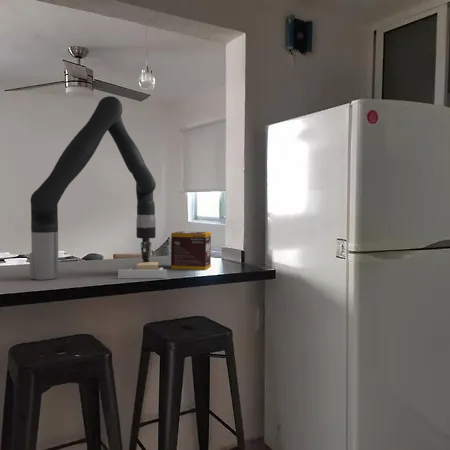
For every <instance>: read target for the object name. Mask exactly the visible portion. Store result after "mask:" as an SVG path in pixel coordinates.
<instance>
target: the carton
mask: <svg viewBox="0 0 450 450" xmlns="http://www.w3.org/2000/svg"><path fill="white" fill-rule="evenodd" d="M136 270H159V262H157V261H149V262H143V261H142V262H141V261H139V262H138V261H137V263H136Z"/></svg>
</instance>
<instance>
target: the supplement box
mask: <svg viewBox="0 0 450 450" xmlns="http://www.w3.org/2000/svg"><path fill="white" fill-rule="evenodd" d="M170 237H171V238H170V239H171V240H170V242H171V243H170V245H171V246H170V258H171V259H170V269H171V270H186V269H189V270H190V271H191V270H192V271H206V270H208V269H209V268H211V267H212V264H211V261H212V260H211V257H212V251H211V250H212V249H211V247H212V240H211V239H212V232H211V231H179V230H178V231H174V232H171V235H170ZM189 270H188V271H189Z"/></svg>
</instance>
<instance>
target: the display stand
mask: <svg viewBox="0 0 450 450" xmlns="http://www.w3.org/2000/svg"><path fill="white" fill-rule="evenodd" d="M117 271H118V272H117V274H118V275H117V276H118V279H167V278H168V269H164V267H159V268H158V270H137V269H133V267H129V268H128V269H117Z"/></svg>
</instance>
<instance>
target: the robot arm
mask: <svg viewBox="0 0 450 450" xmlns="http://www.w3.org/2000/svg"><path fill="white" fill-rule="evenodd" d="M122 114H123V104H122V102H121V100H119V98H117V97H115V96H111V95H110V96H104V97H103V98H101V99H100V100H99V102H98V103H97V106H96V108H95V110H94V111H93V113H92V115H91V116H90V117H89V119H88V121H87V122H86V124H85V125H84V126H83V127H81V129H80V130H79V131H78V133H76V135H75V136H74V137H73V138H72V139H71V141H70V142H69V144H68V145H67V146H66V147H65V149H64V150H63V151H62V153H61V154H60V156H59V157H58V160H57V162H56V163H55V166H54V167H53V169H52V171H51V172H50V174H49V175H48V176H47V178H46V179H45V180H44V181H43V182H42V183H41V184H40V186H39V187H38V188H37V189H36V190H35V191H34V192H33V193H32V194H31V196H30V216H31V217H30V232H31V234H30V235H31V241H30V242H31V245H30V246H31V252H30V253H29V280H37V281H41V280H53V279H58V278H59V277H60V275H59V273H60V270H59V267H60V265H59V219H58V218H59V215H58V214H59V213H58V208H59V207H58V203H59V202H60V200H61V198H62V197H63V195H64V193H65V191H66V190H67V188H68V187H69V185H70V184H71V183H72V182H73V181H74V180H75V179H76V178H77V176H79V174H80V173H81V172H82V171H83V170H84V168H85V167H86V166H87V164H88V163H89V161H90V160H91V158H92V157H93V156H94V154H95V152H96V151H97V149H98V147H99V146H100V143H101V141H102V140H103V137H104V136H105V135H106V132H108V133H109V134H110V136H111V138H112V140H113V142H114V144H115V145H116V148H117V149H118V151H119V154H120V155H121V157H122V160H123V162H124V164H125V165H126V168H127V169H128V171H129V173H131V174H132V177H133V179H134V181H135V193H136V201H137V203H136V228H135V229H136V238H137V239H142V241H141V242H140V251H141V259H142V262H150V259H151V258H150V257H151V253H152V251H151V250H152V249H151V248H152V242H151V239H155V238H156V216H155V215H156V214H155V213H156V206H155V201H154V191H155V189H156V187H157V186H156V184H157V183H156V181H155V178H154V175H153V174H152V172H151V171H150V170H149V168H148V166H147V164H146V163H145V160H144V158H143V155H142V154H141V152H140V150H139V148H138V146H137V145H136V143H135V142H134V140H133V139H132V137H131V136H130V135H129V133H128V131H127V129H126V127H125V124H124V122H123V118H122Z"/></svg>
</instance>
